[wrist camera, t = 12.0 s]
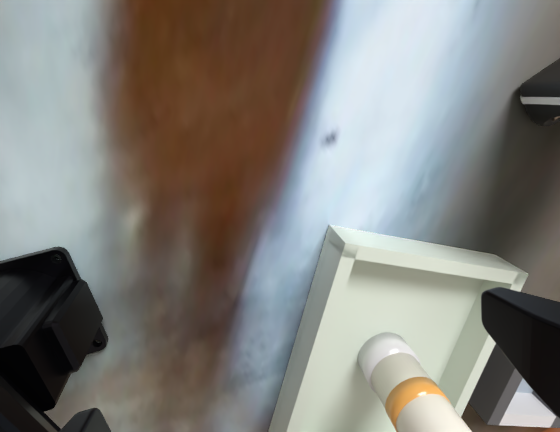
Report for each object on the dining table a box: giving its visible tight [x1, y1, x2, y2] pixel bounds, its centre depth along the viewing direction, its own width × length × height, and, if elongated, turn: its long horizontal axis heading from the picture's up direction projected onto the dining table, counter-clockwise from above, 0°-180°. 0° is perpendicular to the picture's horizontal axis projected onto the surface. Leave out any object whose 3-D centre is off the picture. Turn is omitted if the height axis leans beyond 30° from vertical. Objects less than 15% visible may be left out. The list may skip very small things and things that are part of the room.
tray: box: [268, 225, 528, 432], centre depth 24 cm, size 12×16×3 cm
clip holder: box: [468, 344, 560, 428], centre depth 27 cm, size 7×7×3 cm
